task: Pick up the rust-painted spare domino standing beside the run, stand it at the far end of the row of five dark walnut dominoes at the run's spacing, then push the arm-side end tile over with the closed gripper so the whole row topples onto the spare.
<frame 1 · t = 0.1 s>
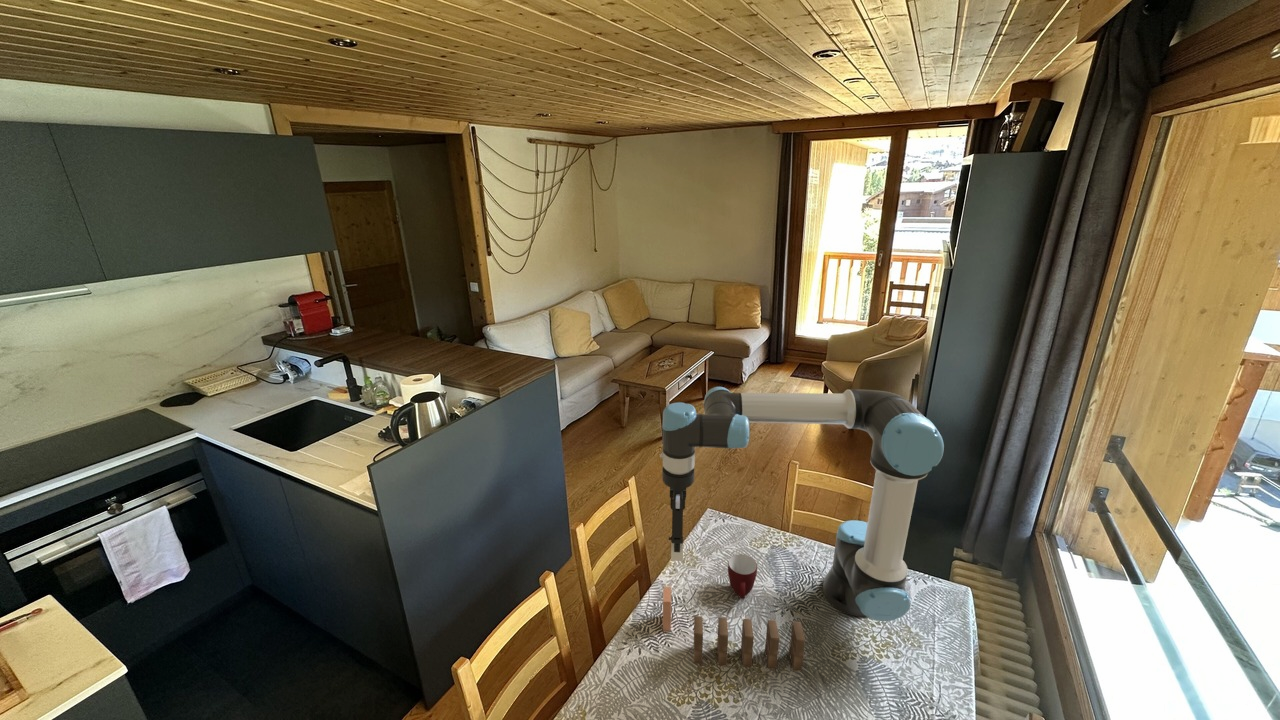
hand: (677, 540, 123), 28 cm above the table, fingers open, 13 cm apart
domino 3: (746, 657, 123), on the table
domino 1: (795, 660, 122), on the table
mug: (741, 595, 141), on the table
domino 5: (697, 654, 124), on the table
domino 2: (770, 659, 122), on the table
domino 4: (721, 656, 123), on the table
spare domino: (667, 622, 133), on the table
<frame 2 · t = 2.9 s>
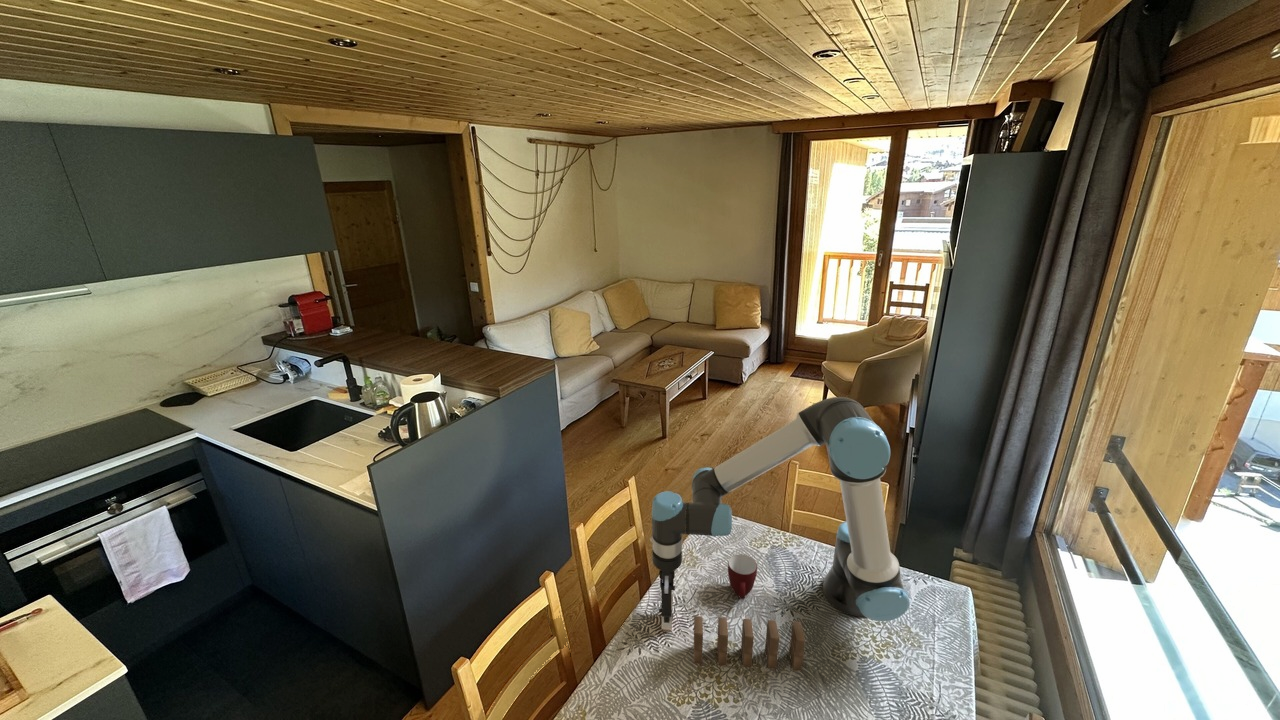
hand: (667, 619, 132), 1 cm above the table, fingers closed on spare domino, 5 cm apart
spare domino: (667, 622, 133), on the table, touching gripper
everything else where it was.
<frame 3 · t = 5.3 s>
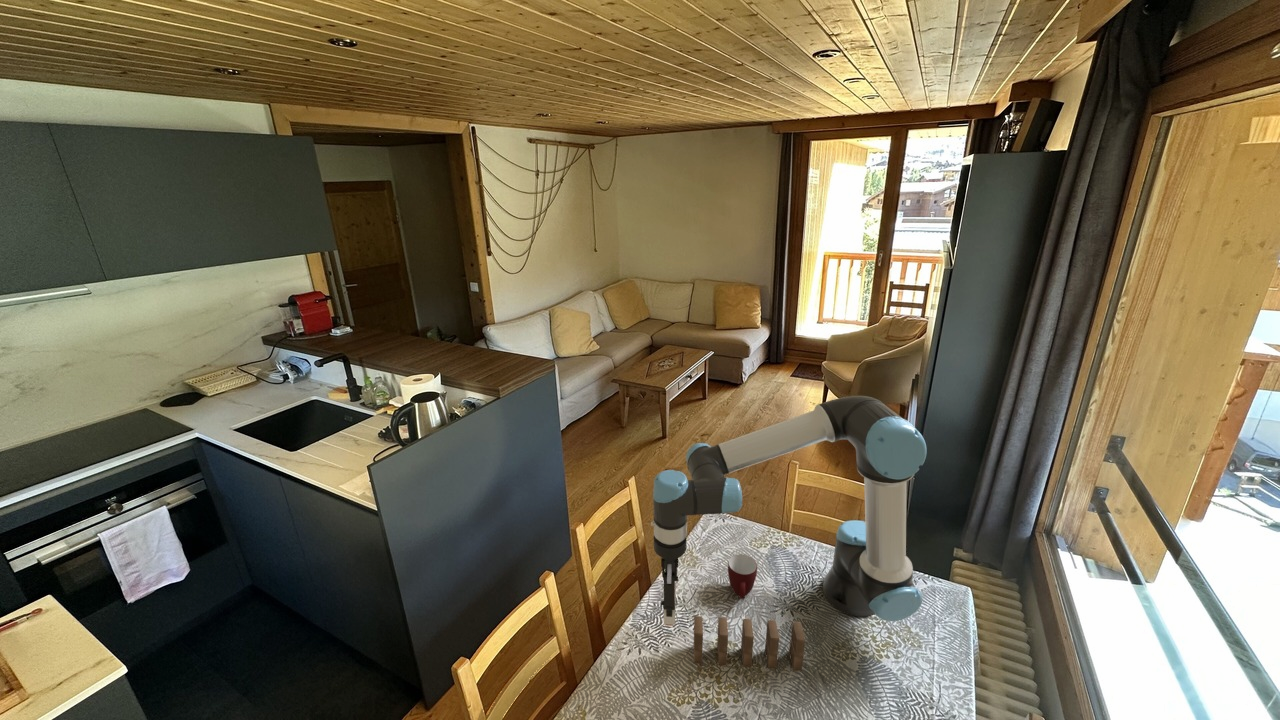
hand: (669, 613, 120), 13 cm above the table, fingers closed on spare domino, 5 cm apart
spare domino: (669, 617, 120), point 12 cm above the table, touching gripper
everything else where it was.
when the fingers open (2 cm above the table, at t = 7.9 s): spare domino stays where it is, on the table.
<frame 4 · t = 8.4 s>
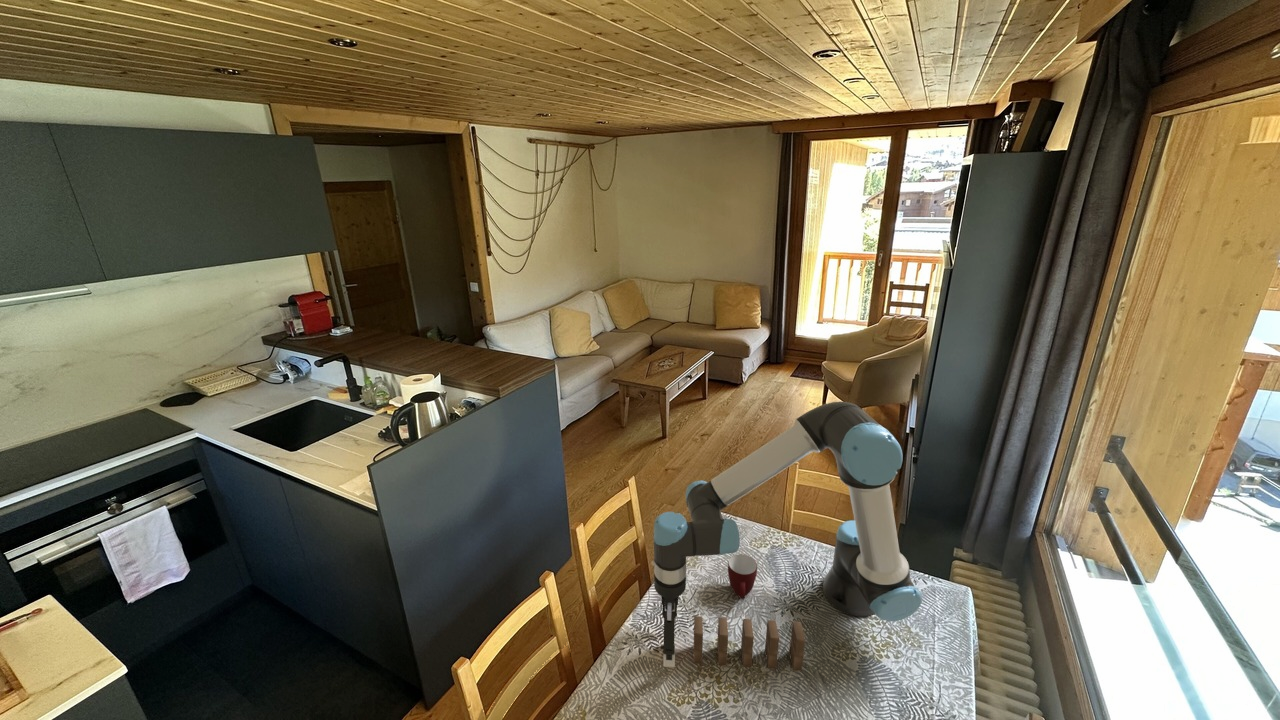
hand: (669, 642, 123), 4 cm above the table, fingers open, 12 cm apart
spare domino: (669, 653, 124), on the table
everything else where it was.
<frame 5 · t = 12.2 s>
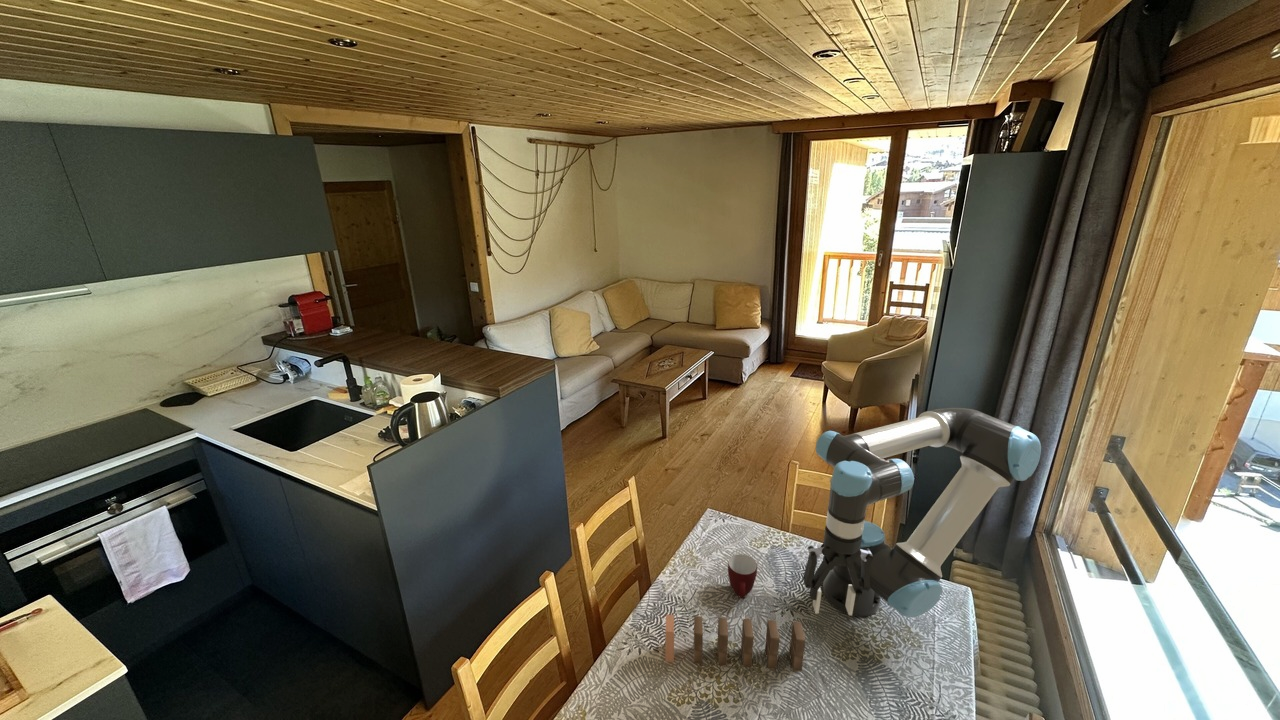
hand: (832, 609, 115), 17 cm above the table, fingers open, 7 cm apart
nothing on the table moved.
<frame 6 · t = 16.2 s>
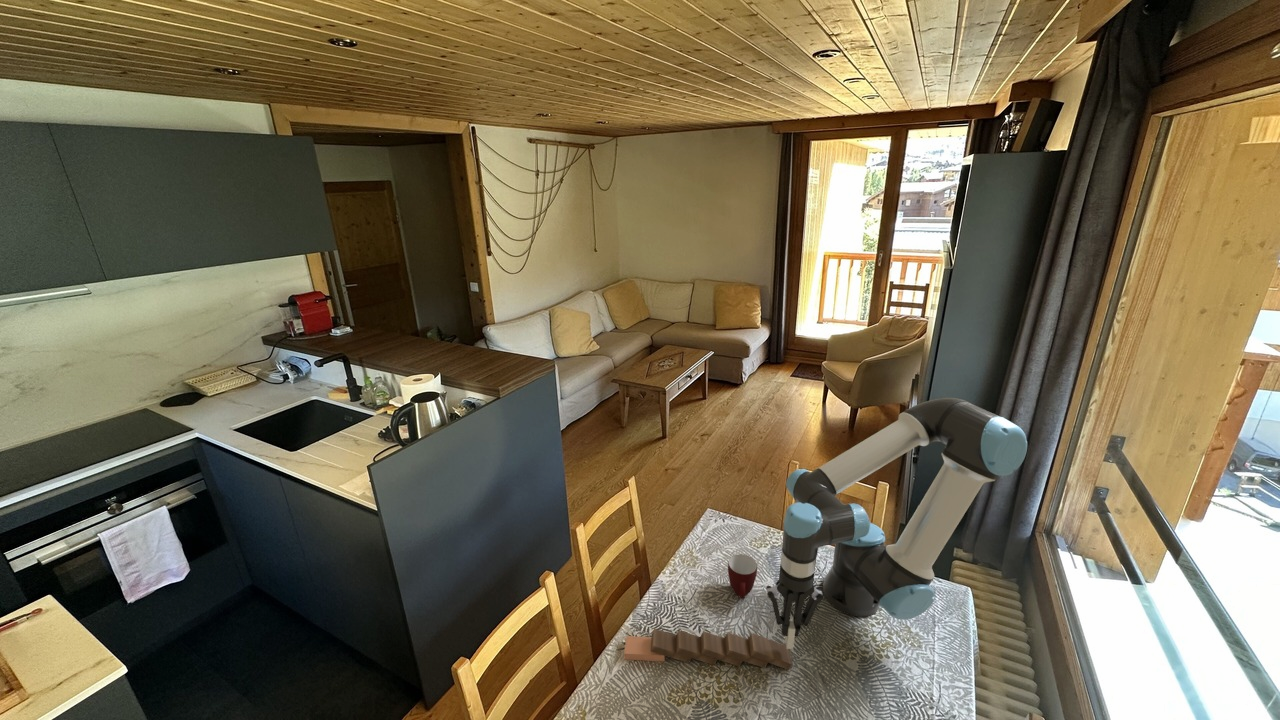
hand: (788, 644, 120), 5 cm above the table, fingers closed
domino 3: (739, 654, 122), point 1 cm above the table, tilted 70°, touching domino 4
domino 1: (788, 657, 121), point 1 cm above the table, tilted 69°, touching domino 2
domino 5: (690, 651, 124), point 1 cm above the table, tilted 71°, touching domino 4, spare domino
domino 2: (764, 656, 122), point 1 cm above the table, tilted 70°, touching domino 1
domino 4: (714, 653, 123), point 1 cm above the table, tilted 70°, touching domino 3, domino 5
spare domino: (664, 649, 124), point 1 cm above the table, tilted 90°, touching domino 5
everything else where it was.
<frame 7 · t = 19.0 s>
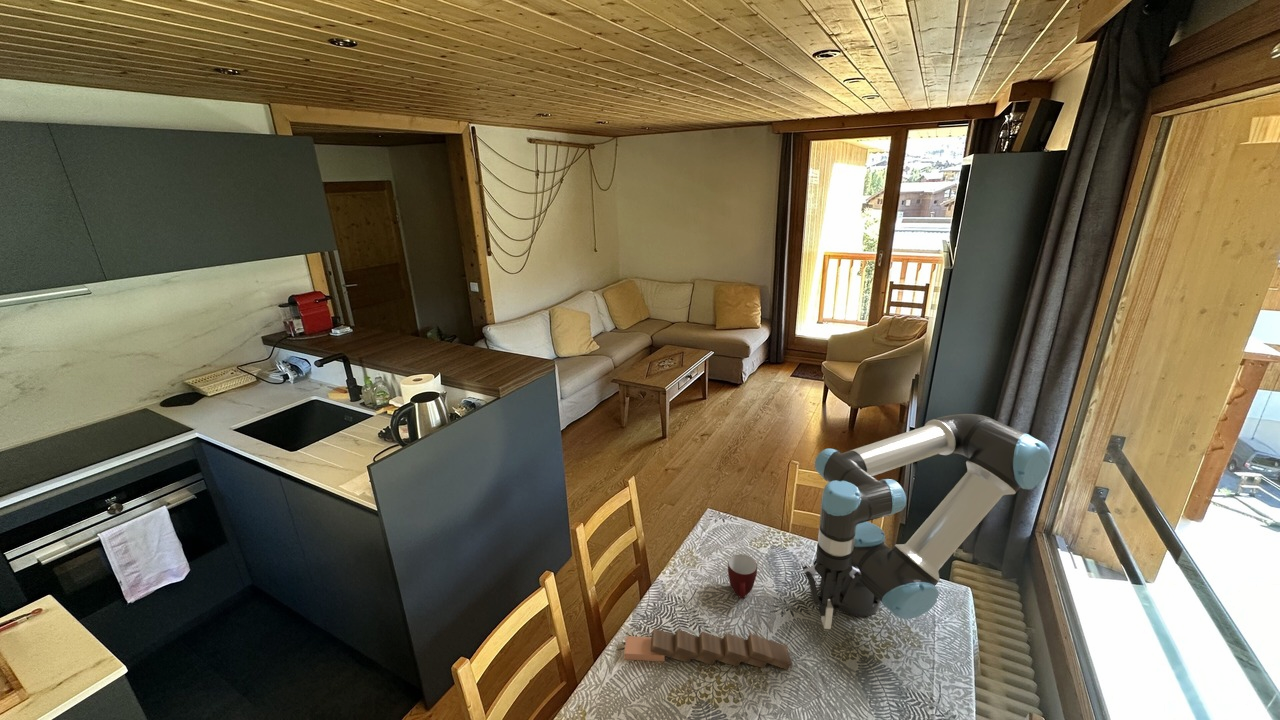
hand: (825, 624, 119), 10 cm above the table, fingers closed
domino 1: (787, 657, 121), point 1 cm above the table, tilted 69°
domino 2: (763, 656, 122), point 1 cm above the table, tilted 71°
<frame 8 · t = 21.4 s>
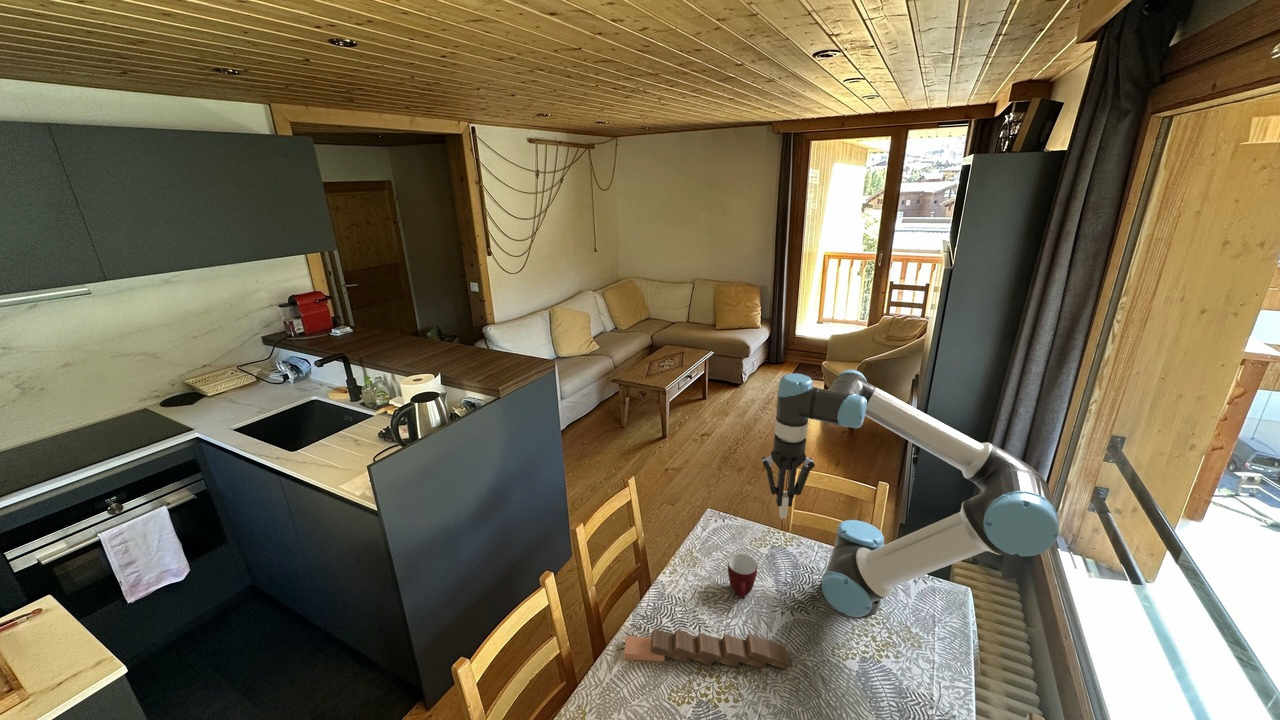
hand: (782, 515, 129), 29 cm above the table, fingers closed
domino 3: (735, 655, 122), point 1 cm above the table, tilted 69°, touching domino 2, domino 4
domino 1: (786, 657, 121), point 1 cm above the table, tilted 69°, touching domino 2
domino 2: (762, 656, 122), point 1 cm above the table, tilted 71°, touching domino 1, domino 3
at the end: spare domino tilted 90°; spare domino inside the target area (3.2 cm from its centre), point 1.1 cm above the table; domino 1 tilted 70° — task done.
